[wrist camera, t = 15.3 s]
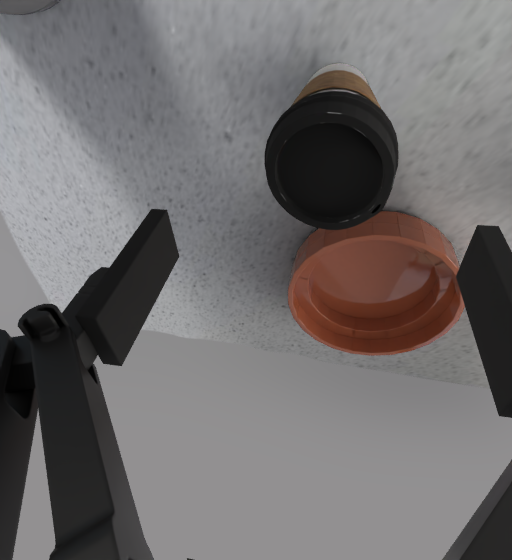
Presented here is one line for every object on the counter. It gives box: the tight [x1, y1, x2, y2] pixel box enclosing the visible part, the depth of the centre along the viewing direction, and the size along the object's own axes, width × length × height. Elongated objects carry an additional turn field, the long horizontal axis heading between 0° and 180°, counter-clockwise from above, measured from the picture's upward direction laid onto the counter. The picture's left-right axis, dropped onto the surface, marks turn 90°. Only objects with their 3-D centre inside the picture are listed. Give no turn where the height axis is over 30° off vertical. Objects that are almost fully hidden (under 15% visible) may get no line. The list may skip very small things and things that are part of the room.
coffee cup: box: [265, 63, 398, 230], centre depth 27 cm, size 8×8×15 cm
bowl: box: [288, 211, 465, 356], centre depth 44 cm, size 19×19×5 cm
